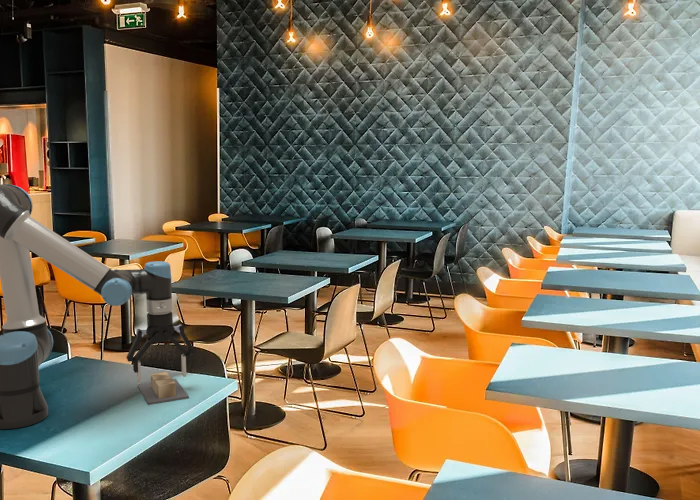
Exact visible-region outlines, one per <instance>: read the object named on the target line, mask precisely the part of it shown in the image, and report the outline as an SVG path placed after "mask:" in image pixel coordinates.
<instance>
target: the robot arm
mask: <svg viewBox="0 0 700 500" xmlns="http://www.w3.org/2000/svg"><path fill="white" fill-rule="evenodd" d="M32 212H33V201H32V198H31V196H30V194H28V191H26V190H25V189H23V188H22V187H20V186H18V185H14V184H9V183H8V184H7V183H6V184H5V183H3V184H0V283H1V292H2V297H3V298H2V299H3V302H4V303H3V304H4V311H5V314H6V321H5V323H4V324H3V325H2V326H1V329H2V334H1V335H0V430H12V429H20V428H24V427H28V426H32V425H35V424H37V423H40V422H42V421H43V420H45V419H46V418H47V417H48V416H49V406H48V404H47V400H46V399H45V397H44V394H43V392H42V389H41V387H40V372H39V371H40V369H39V367H40V366H41V365H42V363H44V361H47V359H48V357H49V356H50V354H51V352H52V351H53V347H54V338H53V335H52V332H51V331H50V329H48V324H47V319H46V318H45V317H44V316H42V315H41V314H40V310H39V304H38V303H39V302H38V297H37V291H36V290H37V289H36V284H35V278H34V272H33V271H34V269H33V265H32V264H33V263H32V259H31V258H32V257H31V252H32V253H34V254H36V255H37V256H38V257H40V258H41V259H43V260H44V261H46V262H48V263H49V264H51V265H53V266H54V267H56V268H57V269H59V270H60V271H62V272H63V273H66V275H69V276H70V277H72V278H73V279H75V280H77V282H79V283H81V284H83V285H84V286H86V287H88V288H89V289H90V290H92V291H94V292H95V293H97V294H98V295H99V296H101V298H102V299H103V301H104V303H106V304H107V305H110V306H113V307H119V306H121V305H124V304H126V302H127V301H129V300H130V299H131V296H132V295H143V294H144V295H145V297H146V301H145V302H146V312H147V313H146V322H147V324H146V326H147V327H146V329H140V328H137V329H136V336H135V338H134V339H133V340H134V341H133V343H132V345H131V347H130V348H129V351H128V352H127V356H126V357H125V358H126V361H127V362H131V363H132V370H133V372H134V373H135V374H136V375H137V376H136V379H137V380H136V381H137V382H138V384H142V368H141V367H142V366H141V365H142V364H141V361H140V359H142V357H143V356H144V354H145V353H146V351H147V350H148V349H149V348H150V347H151V346H152V345H153V344H154V343H156V344H159V343H161V342H162V343H166V342H168V340H169V341H170V342H171V343H173V345H175V346H176V348H177V349H179V351H180V352H181V353H183V354H181V355H180V357H181V358H180V360H181V375H182V376H183V378H186V377H187V366H189V365H190V355H191V354H195V352H196V351H195V348H194V347H193V345H192V343H191V342H190V340H189V338H188V336H187V335H186V333H185V328H184V326H183V325H182V324H181V323H179V324H178V325H176V326H175V325H174V322H173V321H174V320H173V319H174V318H173V316H174V315H173V312H172V310H173V299H172V298H173V296H172V295H173V294H172V293H173V292H172V286H173V285H172V269H171V264H170V263H169V262H167V261H164V260H163V261H162V260H160V261H157V260H156V261H148V262H146V263H145V264H144V268H141V269H140V268H139V269H137V268H136V269H112V268H110V267H109V266H107V265H106V264H104V263H102V262H101V261H100V260H98V259H97V258H95V257H93V256H92V255H90V254H88V253H87V252H86V251H84V250H82V249H81V248H79V247H78V246H76V245H75V244H73V243H71V242H70V241H69V240H67V239H66V238H64V237H62V236H61V235H60V234H58V233H57V232H55V231H53V230H52V229H50V228H48V227H47V226H45V225H44V224H42V223H41V222H39V221H38V220H37V219H35V218H33V217H32V216H31V215H32ZM175 331H176V332H177V333H179V335H180V338H181V339H182V340H183V342H184V344H185V345H186V348H187V349H186V348H185V347H184V346H183V345H182V344H181V343H180V342H179V341H178V340H177V339H176V338H175V337H173V336H172V335H173V333H175ZM145 335H147V336H148V337H147V338H146V339H145V341H144V343H143V344H142V345H141V347H140V348H139V345H140V343H141V341H142V338H144V336H145ZM138 348H139V349H138ZM137 349H138V350H137Z"/></svg>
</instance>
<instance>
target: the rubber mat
mask: <svg viewBox="0 0 700 500" xmlns="http://www.w3.org/2000/svg"><path fill="white" fill-rule="evenodd" d="M172 380H173V381H174V382H175V386H176V396H173V397H167V398H161V399H159V398H158V396H157V395H156V393H155V392H154V390H153V389H152V387H151V382H146V383H140V384H139V383H138V384H137V387H138V389H139V390H140V393H141V394H142V396H143V398H144V400H145V402H146V403H147V405H148V406H149V405H155V404H162V403H166V402H175V401H180V400H186V399H190V396H189V394H188V393H187V392H186V390H185V389H184V388H183V386H182V385H181V384H180V383H179V381H178V380H177V379H176V378H172Z"/></svg>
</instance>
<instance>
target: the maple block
mask: <svg viewBox="0 0 700 500" xmlns="http://www.w3.org/2000/svg"><path fill="white" fill-rule="evenodd" d="M172 379H173V378H172V377H171V376H170V374H169V373H168V372H167V371H164V372H157V373H151V374H150V383H151V387H152V389H153V390H154V392H155V393H156V395H157V396H158V398H159V399H161V398H167V397H173V396H176V386H175V382H174V381H173V380H172Z"/></svg>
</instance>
